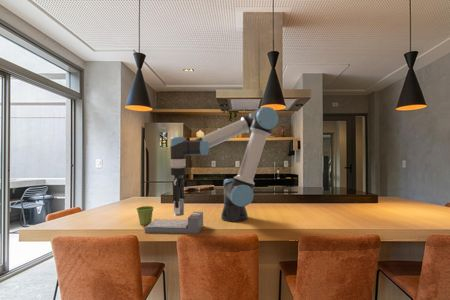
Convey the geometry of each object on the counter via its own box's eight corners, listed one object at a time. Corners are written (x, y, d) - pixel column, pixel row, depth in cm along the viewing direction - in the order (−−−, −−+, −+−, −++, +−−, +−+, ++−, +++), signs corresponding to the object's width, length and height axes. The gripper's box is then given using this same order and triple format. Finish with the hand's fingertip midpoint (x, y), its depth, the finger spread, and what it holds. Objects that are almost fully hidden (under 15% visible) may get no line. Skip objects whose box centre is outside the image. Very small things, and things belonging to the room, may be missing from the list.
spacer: (180, 212, 163) (180, 199, 163) (185, 214, 159) (185, 201, 159) (172, 214, 160) (172, 200, 160) (177, 216, 156) (176, 202, 156)
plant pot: (151, 225, 167) (151, 209, 167) (134, 226, 168) (134, 210, 167) (156, 221, 177) (155, 205, 176) (139, 221, 177) (139, 206, 177)
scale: (203, 226, 165) (202, 210, 165) (198, 233, 152) (197, 217, 152) (154, 225, 168) (153, 210, 168) (145, 232, 156) (144, 216, 155)
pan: (191, 221, 165) (191, 219, 165) (186, 227, 153) (186, 226, 153) (155, 220, 168) (155, 219, 168) (147, 227, 156) (147, 225, 156)
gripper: (176, 165, 168) (176, 208, 169) (165, 169, 150) (166, 216, 151) (189, 165, 167) (190, 208, 168) (180, 169, 149) (181, 217, 150)
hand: (179, 212), depth 160 cm, fingers closed on spacer, 5 cm apart
